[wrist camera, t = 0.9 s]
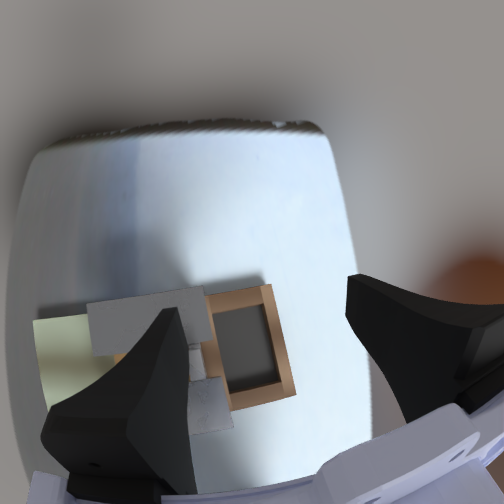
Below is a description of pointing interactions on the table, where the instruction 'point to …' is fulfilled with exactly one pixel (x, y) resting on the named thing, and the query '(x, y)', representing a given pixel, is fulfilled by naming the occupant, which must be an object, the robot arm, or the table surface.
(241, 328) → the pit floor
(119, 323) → the tunnel
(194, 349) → the paddle
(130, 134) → the table surface
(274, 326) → the board
